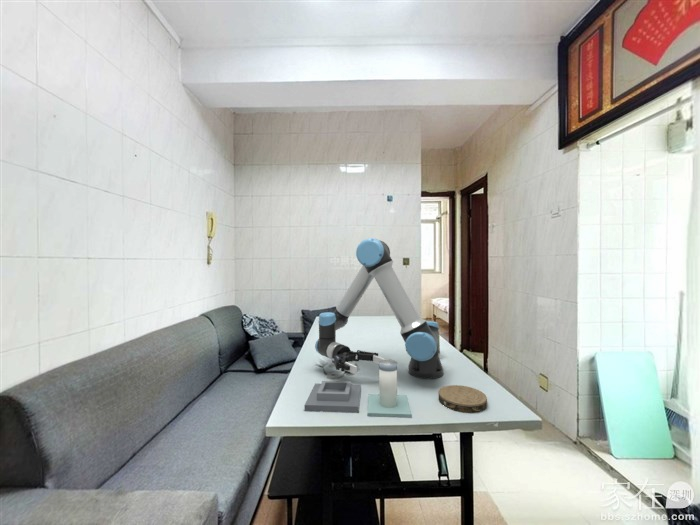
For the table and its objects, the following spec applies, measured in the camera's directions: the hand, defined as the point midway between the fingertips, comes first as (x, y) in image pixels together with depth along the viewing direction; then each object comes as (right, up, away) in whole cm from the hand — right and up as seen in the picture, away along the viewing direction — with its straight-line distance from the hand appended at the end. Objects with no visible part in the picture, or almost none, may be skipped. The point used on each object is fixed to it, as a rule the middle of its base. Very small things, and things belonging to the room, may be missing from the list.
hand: (371, 366), depth 109 cm
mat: (+5, -11, -8) cm, 14 cm away
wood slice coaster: (+32, -11, -5) cm, 34 cm away
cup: (+5, -10, -8) cm, 14 cm away
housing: (-13, -11, -2) cm, 17 cm away
